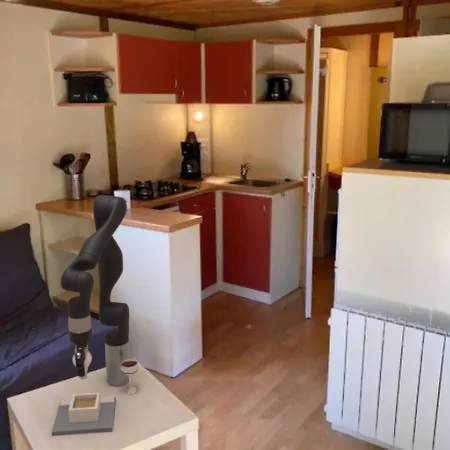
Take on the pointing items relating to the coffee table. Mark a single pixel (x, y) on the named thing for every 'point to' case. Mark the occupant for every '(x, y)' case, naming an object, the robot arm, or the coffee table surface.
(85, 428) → the socket board
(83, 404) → the socket plunger
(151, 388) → the coffee table surface
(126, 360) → the wineglass
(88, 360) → the lightbulb
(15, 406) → the coffee table surface
